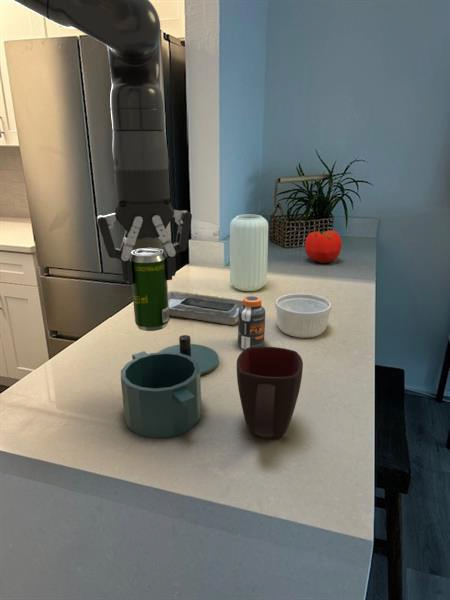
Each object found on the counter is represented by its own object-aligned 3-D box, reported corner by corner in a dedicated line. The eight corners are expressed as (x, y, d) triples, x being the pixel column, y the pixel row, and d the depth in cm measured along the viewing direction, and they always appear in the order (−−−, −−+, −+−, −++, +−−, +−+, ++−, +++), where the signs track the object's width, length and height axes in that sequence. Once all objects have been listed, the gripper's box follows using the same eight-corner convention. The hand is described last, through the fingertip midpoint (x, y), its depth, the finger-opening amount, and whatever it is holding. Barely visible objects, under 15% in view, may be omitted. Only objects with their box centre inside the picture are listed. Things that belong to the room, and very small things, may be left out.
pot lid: (172, 387, 80) (170, 359, 78) (141, 359, 91) (139, 333, 89) (231, 367, 88) (231, 340, 86) (196, 343, 98) (196, 319, 96)
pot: (152, 459, 62) (148, 409, 59) (108, 401, 76) (103, 358, 73) (224, 428, 69) (224, 381, 66) (171, 380, 83) (169, 340, 80)
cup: (299, 412, 73) (303, 348, 69) (297, 470, 60) (302, 396, 56) (241, 406, 74) (241, 344, 70) (227, 462, 62) (227, 389, 57)
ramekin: (322, 344, 97) (324, 316, 94) (266, 334, 102) (267, 307, 100) (334, 323, 108) (336, 297, 106) (283, 315, 113) (284, 290, 111)
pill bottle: (251, 353, 93) (252, 305, 89) (232, 345, 97) (232, 297, 93) (269, 345, 97) (271, 298, 93) (250, 337, 101) (251, 291, 97)
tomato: (333, 256, 171) (335, 226, 167) (344, 266, 158) (347, 234, 153) (300, 257, 170) (301, 227, 166) (308, 266, 157) (310, 235, 153)
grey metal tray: (170, 299, 126) (169, 289, 125) (252, 308, 118) (252, 298, 117) (147, 315, 114) (147, 305, 113) (237, 327, 106) (237, 316, 105)
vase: (253, 296, 128) (254, 221, 120) (222, 288, 134) (222, 217, 126) (273, 286, 136) (275, 215, 129) (243, 279, 143) (244, 212, 135)
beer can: (173, 319, 71) (169, 248, 67) (164, 332, 66) (159, 256, 62) (141, 317, 72) (136, 247, 67) (130, 330, 67) (124, 255, 62)
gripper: (184, 163, 66) (188, 270, 72) (86, 165, 61) (99, 279, 67) (198, 166, 59) (201, 283, 65) (89, 168, 55) (103, 294, 61)
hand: (149, 280), depth 66 cm, fingers closed on beer can, 5 cm apart
